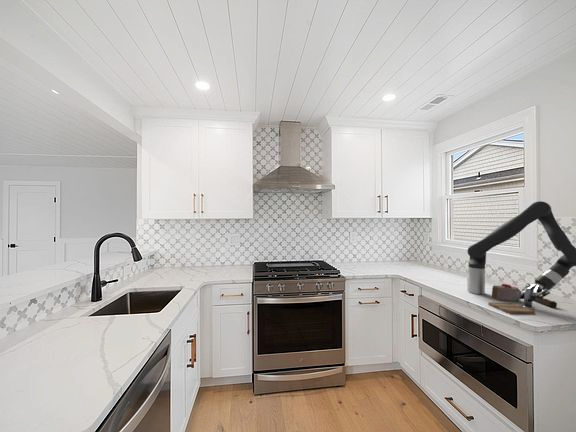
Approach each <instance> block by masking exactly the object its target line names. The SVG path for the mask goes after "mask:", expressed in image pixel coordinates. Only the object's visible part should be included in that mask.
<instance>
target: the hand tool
mask: <svg viewBox="0 0 576 432" xmlns="http://www.w3.org/2000/svg"><path fill="white" fill-rule="evenodd" d="M532 296H533V295H532ZM533 301H534V302H537V303H541V304H542V305H545V306H547V307H549V308H550V309H551V308H552V309H555V308H557V306H558V303H557V302H556V301H554V300H550V299H547V298H544V297H543V298H541V299H539V298H537V299H535V300H533ZM533 301H532V302H533Z"/></svg>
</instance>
